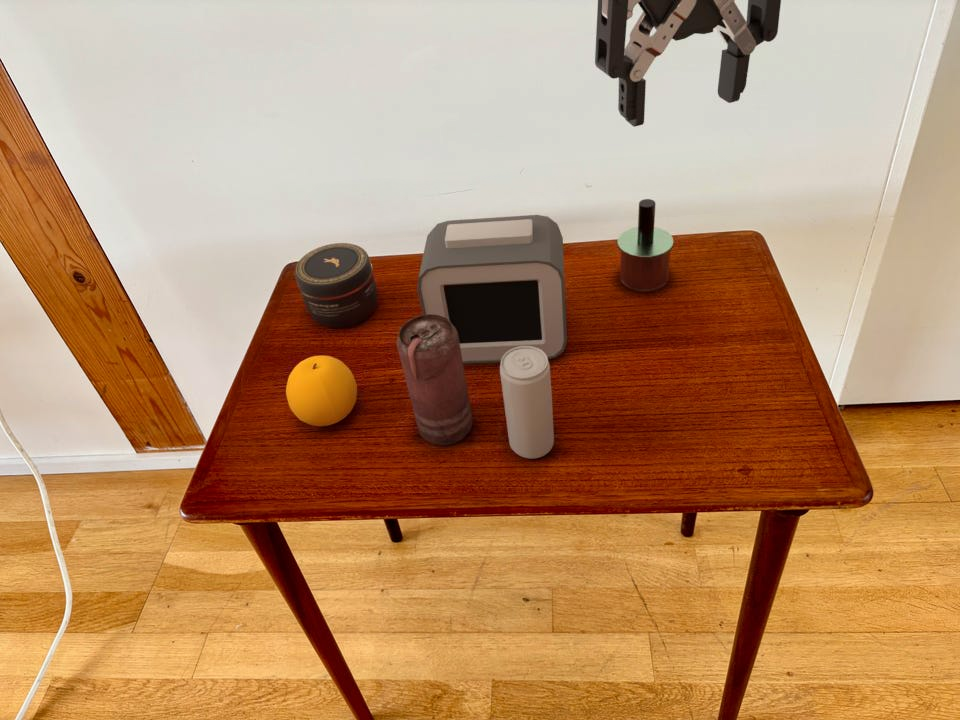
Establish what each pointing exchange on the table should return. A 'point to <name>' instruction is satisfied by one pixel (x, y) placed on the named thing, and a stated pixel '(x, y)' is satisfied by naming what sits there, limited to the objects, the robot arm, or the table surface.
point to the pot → (644, 273)
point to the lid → (645, 236)
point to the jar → (337, 284)
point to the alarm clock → (497, 284)
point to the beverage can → (527, 401)
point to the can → (435, 378)
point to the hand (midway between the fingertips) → (681, 110)
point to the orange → (321, 390)
